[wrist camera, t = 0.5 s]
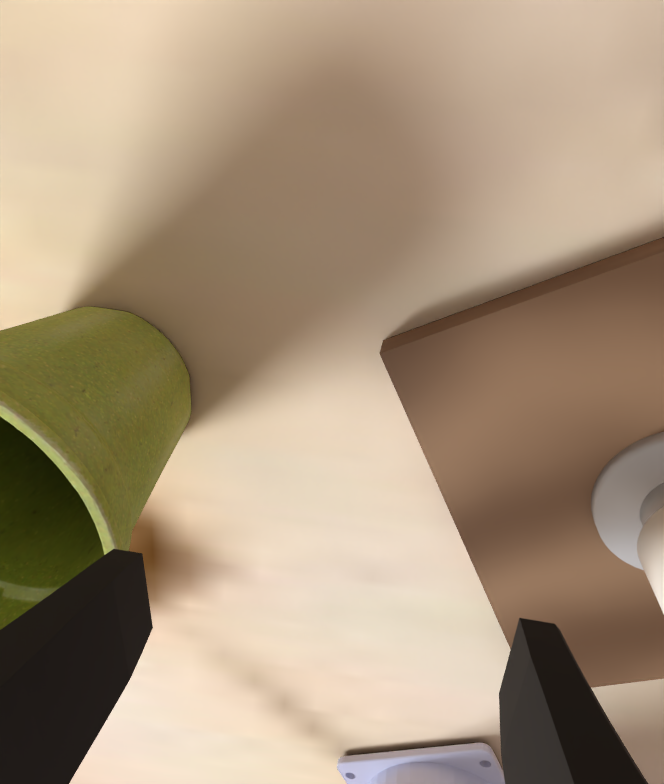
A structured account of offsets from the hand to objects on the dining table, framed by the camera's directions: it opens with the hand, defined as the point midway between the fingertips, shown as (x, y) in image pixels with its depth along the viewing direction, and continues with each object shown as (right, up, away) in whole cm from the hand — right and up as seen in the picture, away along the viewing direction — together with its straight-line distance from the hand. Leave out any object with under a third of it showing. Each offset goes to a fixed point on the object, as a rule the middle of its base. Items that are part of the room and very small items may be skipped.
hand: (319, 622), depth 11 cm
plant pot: (-8, +5, +11) cm, 14 cm away
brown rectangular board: (+12, +2, +8) cm, 14 cm away
